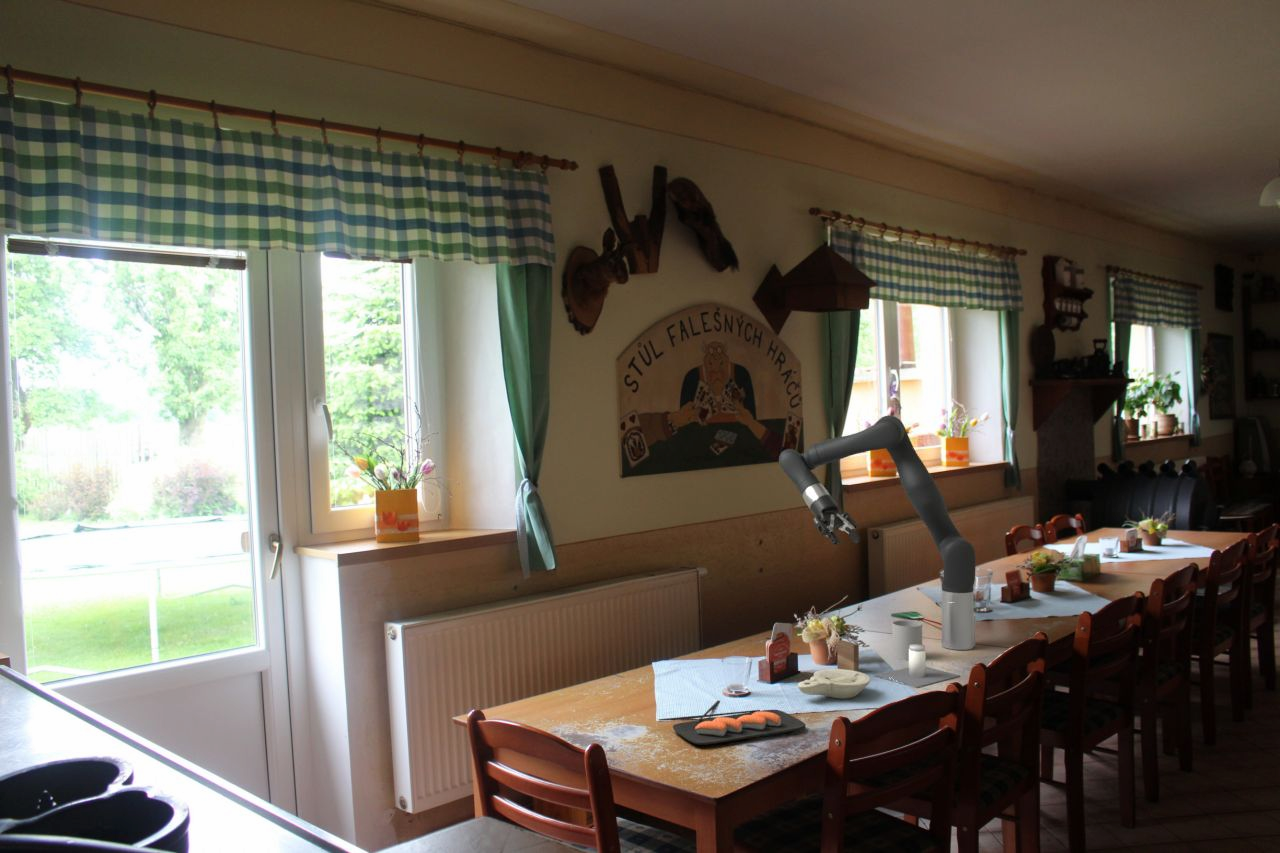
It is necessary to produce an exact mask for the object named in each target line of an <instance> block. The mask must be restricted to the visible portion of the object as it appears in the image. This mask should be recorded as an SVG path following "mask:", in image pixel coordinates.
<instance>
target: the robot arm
mask: <svg viewBox="0 0 1280 853" xmlns="http://www.w3.org/2000/svg"><path fill="white" fill-rule="evenodd" d="M877 450H878V451H879V450H886V452H888V454H889V455H890V458H891V459H892V461H893V462H894V466H895V468H896V472H897V474H898V477H899V480H900V483H901V486H902V488H903V491H904V492H905V494H906V496H907V498H908V500H909V501H910V503H911V505H912V507H913V508H914V510H915V511H916V513H917V515H918V516H919V518H920V519H921V520H922V522H923V523H924V524H925V526H926V528H927V529H928V530H929V532H930V534H931V535H930V536H932V539H933V541H934V543H935V545H936V548H937V551H938V552H939V555H940V558H941V559H942V560H943V578H942V580H941V647H942V648H946V649H949V650H955V651H956V650H957V651H966V650H967V651H968V650H972V649H974V647H975V646H976V615H975V614H974V613H975V612H974V609H975V608H974V607H975V606H974V588H975V587H974V586H975V581H976V562H977V561H976V551H975V548H974V546H973V545H972V544H971V543H970V542H969V541H968V540H966V539H965V538H964V537H963V535H961V533H960V532H959V530H958V528H957V527H956V525H955V524H954V522H953V521H952V519H951V517H950V514H949V512H948V509H947V505H946V502H945V499H944V497H943V495H942V492H941V491H940V489H939V487H938V485H937V483H936V482H935V480H934V479H933V477H932V475H931V473H930V472H929V470H928V468H927V467H926V465H925V464H924V462H923V460H922V459H921V458H920V456H919V455H918V453H917V452H916V449H915V447H914V446H913V444H912V442H911V439H910V436H909V433H908V431H907V429H906V427H905V425H904V423H903V422H902V420H901V419H900V418H898V417H896V416H894V415H885V416H882V417H880V418H879V419H878V420H877V421H876V422H875V423H874V424H873V425H871V426H870V427H867V428H865V429H864V430H862V431H859V432H856V433H851V434H849V435H843V436H838V437H833V438H829V439H827V440H823V441H820V442H816V443H813V444H811V445H809V447H808V448H807V451H805V452H803V453H799V452H798V451H797V450H795V449H793V448H787V449H784V450H783V451H781V453H780V455H779V458H778V463H779V466H780V468H781V469H782V470H783V472H784V473H785V474H786V476H787V477H788V478H789V479H790V481H792V483H793V484H794V485H795V487H796V489H797V490H798V492H799V494H800V495H801V496H802V498H803V500H804V502H805V504H806V505H807V506H808V509H809V510H810V511H811V513H812V514H813V515H814V518H813V519H812V523H813V525H814V527H815V528H816V529H817V531H818V532H819V534H820V535H821V536H825V537H827V538H828V539H829V540H830V542H831V543H832V544H833V545H834V546H835V547H836V546H839V544H841V539H840V538H839V536H838V535H837V534H836V533H835V531H834V530H835V529H836V530H840V531H843V532H845V533H846V534H848V536H849V538H850V539H851V541H852V542H853V543H854V544H858V543H859V542H860V539H861V538H860V536H859V534H858V533H857V532H856V529H857V528H858V524H857V523H856V522H855V520H854V519H853V518H852V516H851V515H850V514H849V513H848V512H844V513H843V514H841V513H840V512H839V510H838V509H839V508H838V507H839V506H838V504H837V503H836V501H835V500H834V499H833V497H832V496H831V494H830V493H829V491H828V490H827V489H826V487H824V485H823V484H822V483H821V481H820V480H819V479H818V477H817V475H816V474H814V472H813V470H815V469H816V468H818V467H819V466H824V465H827V464H829V463H833V462H837V461H839V460H841V459H845V458H847V457H851V456H854V455H857V454H861V453H865V452H870V451H877Z"/></svg>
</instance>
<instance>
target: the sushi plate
mask: <svg viewBox="0 0 1280 853" xmlns="http://www.w3.org/2000/svg"><path fill="white" fill-rule="evenodd" d="M719 703H720V700H716V701H715V703H713V704H712V705H711V706H710V708H709V709H708V710H706V712H705V713H704V714H702V715H701V714H700V715H691V716H689V715H688V716H680V717H678V716H677V717H668V718H666V717H665V718H658V721H684V720H691V721H685V722H679V723H676V724H673V725H672V728H673V730H674V732H676V734H679V735H680V736H681V737H682V738H684V739H685V740H687V741H688V742H690V743H693V744H694V745H695V744H696V745H712V744H719V743H727V742H732V741H738V740H744V739H751V738H757V737H762V736H770V735H775V734H780V733H788V732H794V731H799V730H802V729H805V728H806V723H805V722H804V721H802V720H800V719H799V718H798V717H797V718H796V717H795V716H793V715H791V714H790V713H787V712H785V711H782V710H780V709H763V710H760V709H753V710H745V711H734V712H733V711H732V712H723V713H713V714H709V713H710V712H711V711H712V710H714V709H715V708H716V707H717V706H718V705H719ZM709 717H710V718H709ZM692 719H697V720H692Z"/></svg>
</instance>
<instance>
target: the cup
mask: <svg viewBox="0 0 1280 853" xmlns="http://www.w3.org/2000/svg"><path fill="white" fill-rule="evenodd" d="M911 644H920V645H923V623H922V622H920V621H916V620H906V619H905V620H903V619H900V620H894V621H892V658H893V657H894V658H893V659H895V660H897V659H899V660H898V661H901V660H906V661H905V662H909V648H910V645H911Z"/></svg>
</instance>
